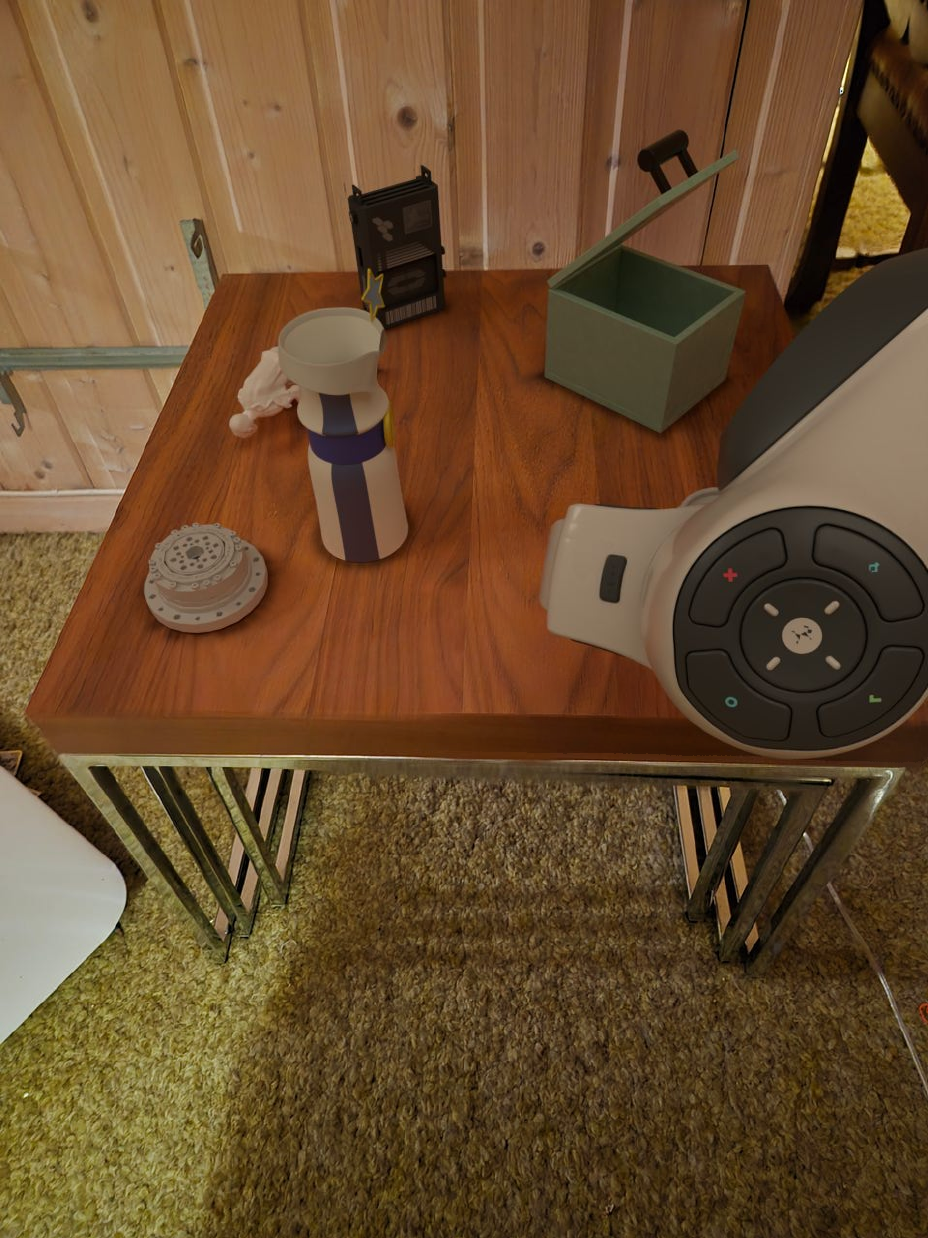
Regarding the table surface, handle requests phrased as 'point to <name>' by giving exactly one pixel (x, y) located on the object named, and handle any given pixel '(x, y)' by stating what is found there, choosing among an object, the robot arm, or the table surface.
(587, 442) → the table surface
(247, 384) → the figurine
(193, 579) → the mechanical component
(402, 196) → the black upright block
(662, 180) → the box lid
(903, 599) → the robot arm
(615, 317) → the green box
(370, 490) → the water bottle
